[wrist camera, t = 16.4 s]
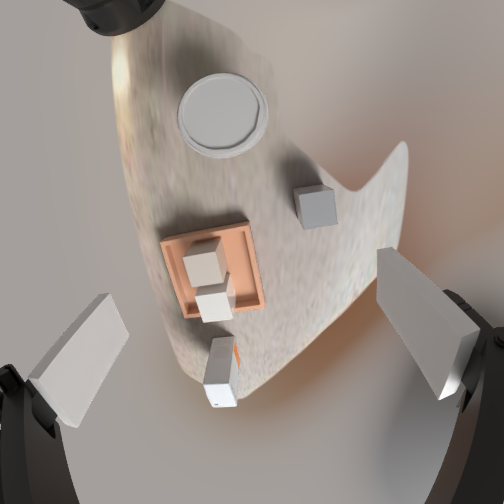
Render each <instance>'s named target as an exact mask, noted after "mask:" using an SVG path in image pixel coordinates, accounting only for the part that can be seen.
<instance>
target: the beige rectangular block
mask: <svg viewBox="0 0 504 504" xmlns="http://www.w3.org/2000/svg"><path fill="white" fill-rule="evenodd" d="M183 260H184V264H185V267H186V270H187V274H188V277H189V280H190V283H191V287H199V286H205V285H212V284H218V283H223V282H224V279H225V275H226V271H227V267H228V263H227V259H226V255H225V251H224V246H223V242H222V238H221V237H220V238H215V239H210V240H205V241H199V242H194V243H192V244H191V246H190V247H189V249H188V250H187V252H186V253H185V255H184V256H183Z"/></svg>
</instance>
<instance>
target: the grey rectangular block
mask: <svg viewBox="0 0 504 504" xmlns="http://www.w3.org/2000/svg"><path fill="white" fill-rule="evenodd" d="M293 192H294V198H295V205H296V211H297V217H298V220H299V222H300V224H301V225H302V227H303V229H304V230H306V229H312V228H317V227H323V226H329V225H335V224H338V221H337V211H336V203H335V195H334V189H332V188H330V187H328V186H326V185H324V184H321V185H314V186H307V187H301V188H295V189H293Z"/></svg>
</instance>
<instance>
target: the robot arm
mask: <svg viewBox="0 0 504 504" xmlns="http://www.w3.org/2000/svg"><path fill="white" fill-rule="evenodd" d="M63 1H65V2H67V3H68V4H70V5H72V6H74V7H75V8H77V9H79V11H80V13H81V15H82V17H83V19H84V21H85V22H86V24H87V26H88V27H89V28H90V29H91V30H93V31H94V32H96V33H98V34H100V35H103V36H116V35H120V34H124V33H126V32H129V31H131V30H133V29H135V28H137V27H139V26H140V25H142V24H143V23H145V22H146V21H147V20H149V19H150V18H151V17H152V16H153V15H154V14H155V13H156V12H157V11H158V10H159V9H160V7H161V6H162V5H163V3H164V1H165V0H63ZM377 303H378V304H379V306H380V307H381V308H382V310H383V312H384V313H385V315H386V316H387V317H388V319H389V320H390V322H391V323H392V325H393V326H394V328H395V329H396V331H397V332H398V334H399V336H400V337H401V339H402V340H403V342H404V343H405V345H406V347H407V348H408V350H409V351H410V353H411V355H412V356H413V358H414V359H415V361H416V363H417V364H418V366H419V368H420V369H421V371H422V373H423V374H424V376H425V378H426V379H427V381H428V383H429V385H430V386H431V388H432V390H433V392H434V393H435V395H436V397H437V399H438V400H440V399H442V398H444V397H447V396H449V395H451V394H453V393H455V392H456V391H457V389H458V387H459V384H460V382H461V381H462V382H463V384H464V385H465V387H466V388H465V390H464V392H463V395H462V396H461V399H460V400H459V403H458V404H457V407H458V408H459V406H460V409H459V413H458V417H457V422H456V425H455V428H454V431H453V435H452V438H451V441H450V444H449V447H448V450H447V453H446V455H445V458H444V461H443V463H442V466H441V469H440V471H439V474H438V476H437V478H436V481H435V483H434V485H433V487H432V489H431V492H430V494H429V496H428V498H427V500H426V502H425V504H503V501H504V327H496V328H494V329H493V328H492V326H491V325H490V324H489V323H488V322H486V320H485V319H483V317H482V316H480V315H479V314H478V313H477V312H476V311H475V310H474V309H472V307H471V306H470V305H469V304H468V303H466V302H465V300H463V299H462V298H461V297H460V296H459V295H458V294H456V293H454V292H452V291H450V290H444V291H442V290H440V289H439V288H438V287H437V286H436V285H435V284H434V283H433V282H432V281H431V280H430V279H428V278H427V277H426V276H425V275H424V274H423V273H422V272H420V271H419V270H418V269H417V268H416V267H415V266H414V265H412V264H411V263H410V262H409V261H408V260H407V259H405V258H404V257H403V256H402V255H401V254H399V253H398V252H397V251H396V250H395V249H393V248H392V247H389V248H384V249H378V250H377ZM128 338H129V334H128V332H127V330H126V328H125V325H124V323H123V321H122V319H121V317H120V315H119V313H118V310H117V308H116V306H115V303H114V301H113V298H112V296H111V294H110V293H106V294H99V295H98V296H97V297H96V298H95V299H94V300H93V302H92V303H91V304H90V305H89V306H88V307H87V308H86V309H85V310H84V311H83V312H82V313H81V314H80V315H79V317H78V318H77V319H76V320H75V321H74V322H73V323H72V324H71V325H70V327H69V328H68V329H67V330H66V331H65V332H64V333H63V335H62V336H61V337H60V338H59V339H58V340H57V342H56V343H55V344H54V345H53V346H52V347H51V349H50V350H49V351H48V352H47V353H46V355H45V356H44V357H43V358H42V360H41V361H40V362H39V363H38V365H37V366H36V367H35V368H34V370H33V371H32V372H31V374H30V375H29V376H28V380H27V381H26V382H24V381H23V379H22V378H21V376H20V375H19V373H18V372H17V371H16V369H15V368H14V366H13V365H12V364H8V365H5V366H3V367H1V368H0V389H1V390H2V392H1V391H0V424H1V430H0V504H79V501H78V498H77V495H76V492H75V489H74V486H73V482H72V479H71V475H70V472H69V468H68V464H67V460H66V456H65V451H64V447H63V442H62V437H61V432H60V426H59V424H58V423H57V422H56V420H55V419H56V417H57V416H58V417H59V418H60V419H61V420H62V421H63V422H64V423H65V424H66V425H69V426H72V427H76V428H78V427H79V425H80V422H81V421H82V419H83V417H84V415H85V413H86V411H87V409H88V407H89V405H90V404H91V402H92V400H93V398H94V396H95V395H96V393H97V391H98V389H99V387H100V385H101V384H102V382H103V380H104V378H105V377H106V375H107V373H108V371H109V370H110V368H111V366H112V364H113V363H114V361H115V359H116V358H117V356H118V354H119V353H120V351H121V349H122V348H123V346H124V344H125V343H126V341H127V339H128ZM460 404H461V405H460Z"/></svg>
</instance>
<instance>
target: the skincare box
mask: <svg viewBox="0 0 504 504" xmlns="http://www.w3.org/2000/svg"><path fill="white" fill-rule="evenodd" d="M239 370H240V357H239V353H238V349H237V345H236V341H235V337H234V336H230V337H220V338H213V340H212V344H211V349H210V353H209V358H208V362H207V367H206V372H205V376H204V381H203V386H204V389H205V391H206V394H207V397H208V399H209V401H210V403H211V405H212V407H232V406H237V396H238V383H239Z"/></svg>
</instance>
